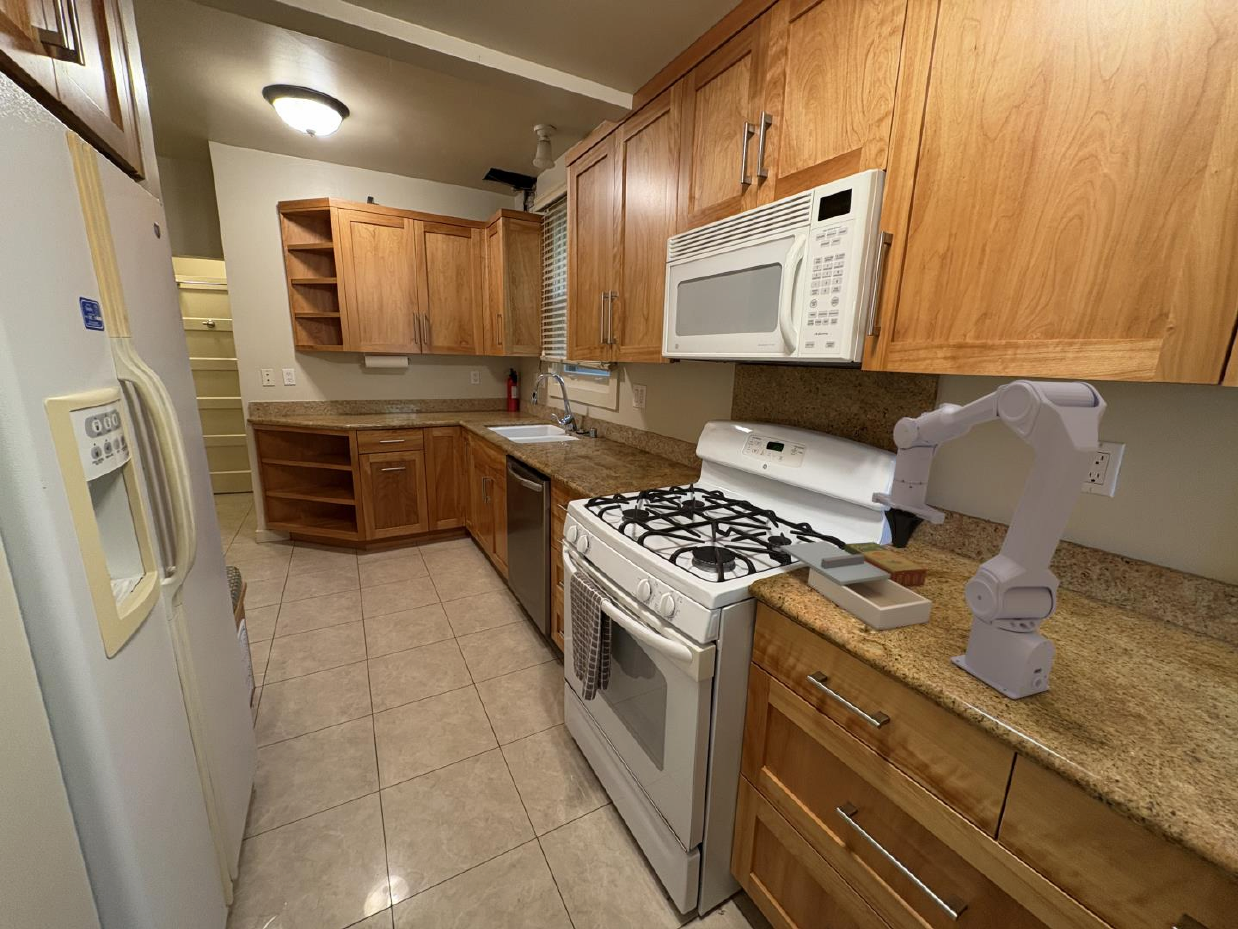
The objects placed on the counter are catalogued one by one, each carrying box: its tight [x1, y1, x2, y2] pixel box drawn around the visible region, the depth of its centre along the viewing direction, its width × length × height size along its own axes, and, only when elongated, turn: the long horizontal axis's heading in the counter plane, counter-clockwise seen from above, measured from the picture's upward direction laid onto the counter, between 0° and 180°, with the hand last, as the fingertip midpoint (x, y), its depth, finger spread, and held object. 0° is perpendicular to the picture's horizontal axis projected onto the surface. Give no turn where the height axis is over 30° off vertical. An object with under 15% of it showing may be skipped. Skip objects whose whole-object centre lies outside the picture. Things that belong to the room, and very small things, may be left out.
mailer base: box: [807, 567, 933, 632], centre depth 94 cm, size 18×12×4 cm, turn 19°
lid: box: [779, 540, 891, 585], centre depth 102 cm, size 18×12×2 cm
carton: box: [843, 541, 927, 588], centre depth 109 cm, size 8×16×4 cm, turn 11°
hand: (899, 546), depth 96 cm, fingers closed
